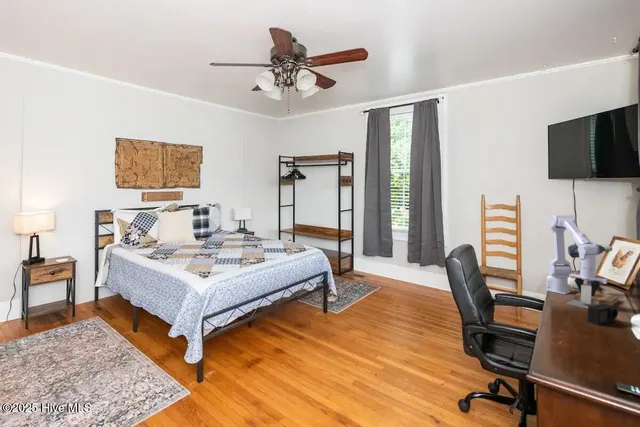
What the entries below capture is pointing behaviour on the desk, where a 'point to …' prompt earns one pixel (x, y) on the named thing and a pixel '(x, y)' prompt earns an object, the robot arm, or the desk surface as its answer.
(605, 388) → the desk surface
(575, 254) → the impact wrench
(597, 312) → the digital camera
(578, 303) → the mat
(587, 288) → the grey rectangular block
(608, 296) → the socket block
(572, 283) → the lidded jar
